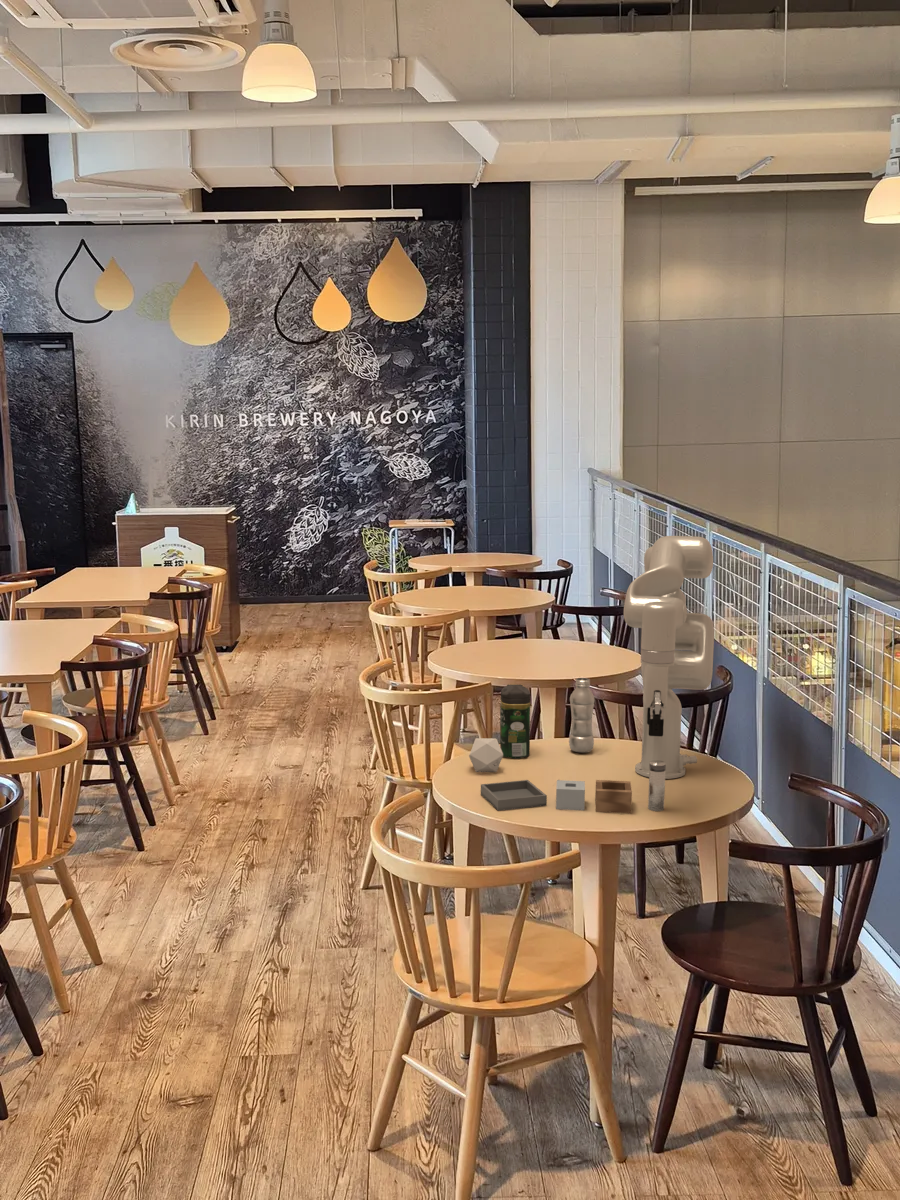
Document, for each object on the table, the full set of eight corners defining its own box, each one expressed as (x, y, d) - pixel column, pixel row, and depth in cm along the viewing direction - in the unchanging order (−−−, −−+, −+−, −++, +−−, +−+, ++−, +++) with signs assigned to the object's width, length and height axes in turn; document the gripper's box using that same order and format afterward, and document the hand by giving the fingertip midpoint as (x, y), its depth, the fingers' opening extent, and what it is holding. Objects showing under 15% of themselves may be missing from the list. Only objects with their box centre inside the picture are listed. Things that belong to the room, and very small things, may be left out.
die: (491, 780, 289) (512, 746, 291) (461, 761, 290) (482, 727, 291) (490, 782, 297) (510, 749, 299) (460, 763, 298) (480, 730, 300)
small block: (584, 801, 272) (584, 781, 271) (584, 811, 266) (584, 790, 265) (556, 800, 273) (556, 780, 272) (555, 809, 266) (556, 788, 266)
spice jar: (659, 805, 269) (661, 759, 268) (667, 810, 266) (668, 764, 264) (645, 806, 268) (646, 761, 267) (652, 812, 265) (654, 765, 263)
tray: (527, 789, 280) (527, 779, 279) (546, 805, 268) (546, 795, 268) (480, 794, 276) (480, 784, 276) (497, 810, 265) (498, 800, 264)
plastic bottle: (593, 756, 308) (595, 682, 305) (567, 754, 309) (569, 681, 306) (594, 749, 314) (596, 677, 311) (569, 747, 315) (571, 676, 312)
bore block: (629, 801, 272) (630, 781, 271) (631, 813, 264) (631, 792, 263) (595, 800, 273) (595, 779, 272) (595, 811, 265) (596, 790, 264)
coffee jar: (498, 749, 314) (499, 682, 311) (527, 749, 314) (529, 682, 311) (500, 759, 304) (501, 690, 301) (530, 759, 304) (532, 690, 301)
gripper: (639, 648, 271) (637, 719, 273) (641, 664, 254) (639, 739, 256) (672, 649, 270) (669, 721, 272) (676, 665, 253) (673, 741, 255)
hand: (654, 730), depth 264 cm, fingers open, 9 cm apart
